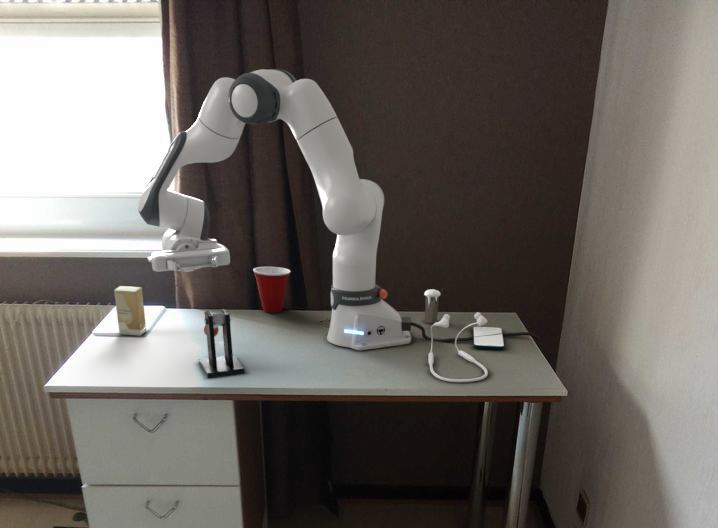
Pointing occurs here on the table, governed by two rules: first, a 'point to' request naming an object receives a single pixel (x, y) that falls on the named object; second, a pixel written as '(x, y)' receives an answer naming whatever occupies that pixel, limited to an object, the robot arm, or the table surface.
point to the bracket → (229, 361)
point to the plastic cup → (272, 287)
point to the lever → (216, 323)
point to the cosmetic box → (130, 310)
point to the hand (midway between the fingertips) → (196, 265)
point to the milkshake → (431, 305)
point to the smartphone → (488, 338)
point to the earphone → (445, 323)
